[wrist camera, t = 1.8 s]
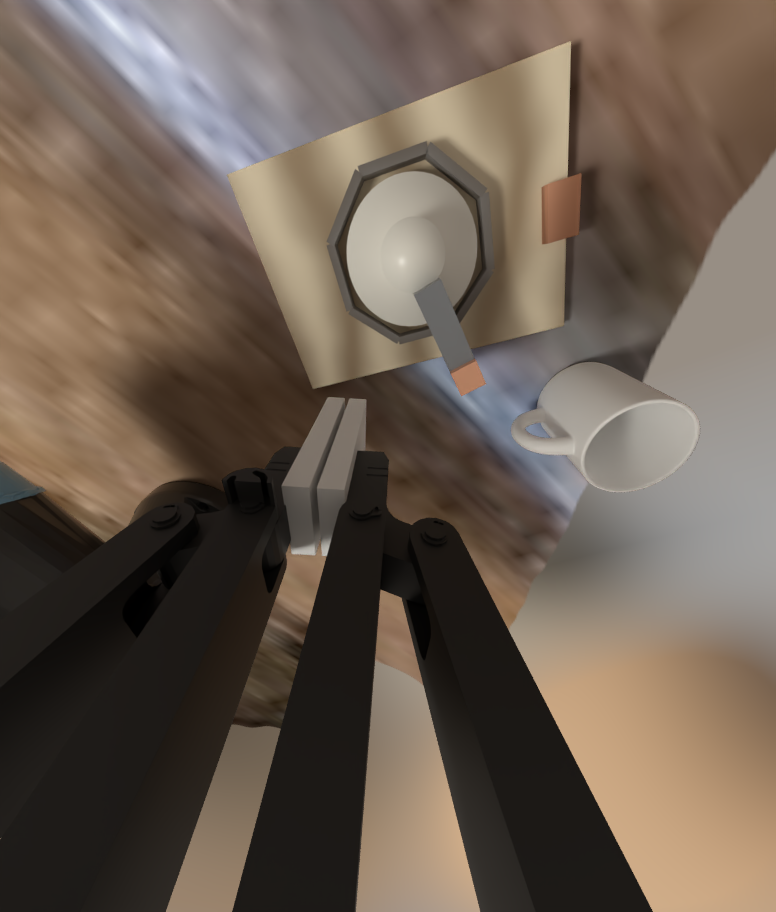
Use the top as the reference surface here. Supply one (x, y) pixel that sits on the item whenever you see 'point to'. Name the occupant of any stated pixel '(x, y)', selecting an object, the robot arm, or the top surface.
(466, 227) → the dial
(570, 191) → the board
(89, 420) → the top surface
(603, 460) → the mug
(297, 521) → the robot arm
